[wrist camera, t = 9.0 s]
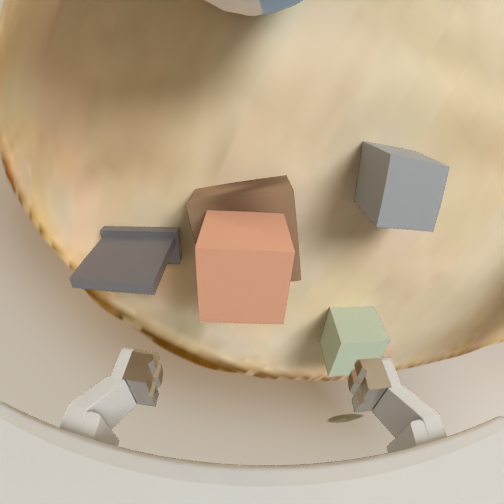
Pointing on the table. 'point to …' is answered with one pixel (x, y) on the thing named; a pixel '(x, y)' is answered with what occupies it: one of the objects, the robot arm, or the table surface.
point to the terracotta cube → (243, 267)
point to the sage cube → (352, 338)
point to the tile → (129, 259)
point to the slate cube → (399, 187)
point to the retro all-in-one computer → (253, 6)
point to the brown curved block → (248, 205)
